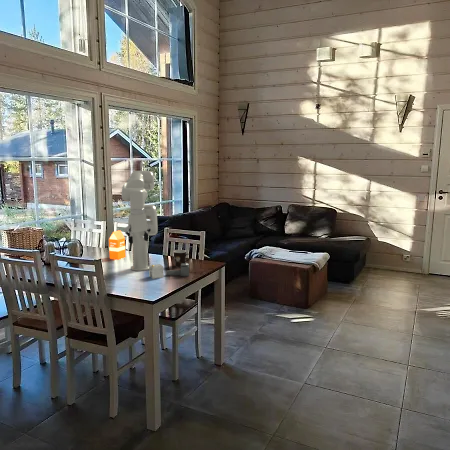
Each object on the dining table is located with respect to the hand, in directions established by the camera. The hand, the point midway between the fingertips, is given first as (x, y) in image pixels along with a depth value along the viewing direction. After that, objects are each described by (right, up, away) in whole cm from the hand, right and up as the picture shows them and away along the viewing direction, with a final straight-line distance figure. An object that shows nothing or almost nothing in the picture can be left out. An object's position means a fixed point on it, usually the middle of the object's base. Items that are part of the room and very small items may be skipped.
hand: (138, 241), depth 229 cm
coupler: (+20, -22, +25) cm, 39 cm away
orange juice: (-30, -15, +69) cm, 76 cm away
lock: (+7, -22, +21) cm, 31 cm away
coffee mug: (+19, -18, +46) cm, 53 cm away
